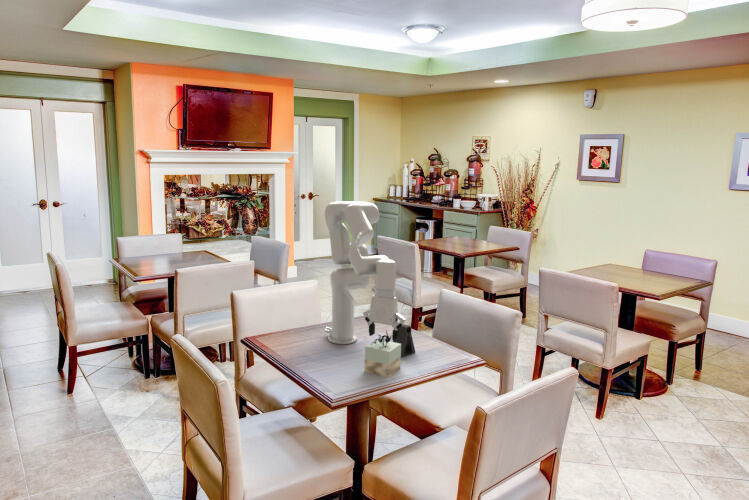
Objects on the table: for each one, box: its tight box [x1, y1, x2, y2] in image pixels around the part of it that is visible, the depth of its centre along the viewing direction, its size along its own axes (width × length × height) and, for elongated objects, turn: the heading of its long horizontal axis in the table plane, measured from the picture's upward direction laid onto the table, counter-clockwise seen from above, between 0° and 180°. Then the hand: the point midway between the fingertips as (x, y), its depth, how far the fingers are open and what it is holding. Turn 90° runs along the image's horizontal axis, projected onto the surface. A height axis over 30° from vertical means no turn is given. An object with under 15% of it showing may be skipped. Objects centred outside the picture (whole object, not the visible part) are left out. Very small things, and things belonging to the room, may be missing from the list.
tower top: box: [364, 338, 402, 365], centre depth 204 cm, size 10×10×5 cm
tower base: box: [363, 357, 402, 378], centre depth 204 cm, size 10×10×5 cm
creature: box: [370, 330, 392, 348], centre depth 202 cm, size 8×5×8 cm
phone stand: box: [392, 322, 416, 358], centre depth 221 cm, size 9×6×12 cm, turn 133°
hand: (383, 337), depth 202 cm, fingers open, 9 cm apart
